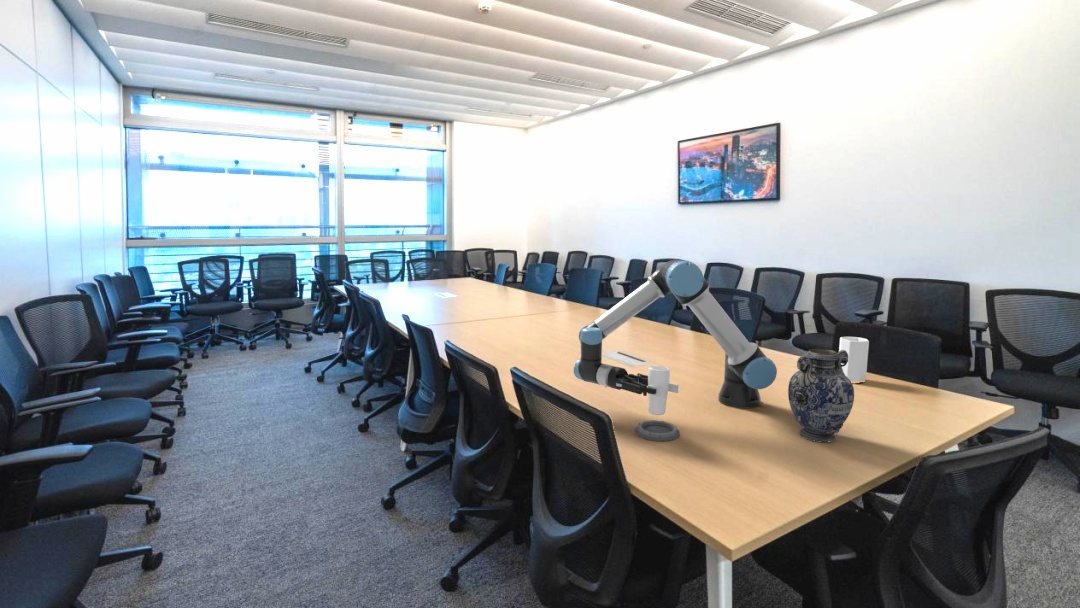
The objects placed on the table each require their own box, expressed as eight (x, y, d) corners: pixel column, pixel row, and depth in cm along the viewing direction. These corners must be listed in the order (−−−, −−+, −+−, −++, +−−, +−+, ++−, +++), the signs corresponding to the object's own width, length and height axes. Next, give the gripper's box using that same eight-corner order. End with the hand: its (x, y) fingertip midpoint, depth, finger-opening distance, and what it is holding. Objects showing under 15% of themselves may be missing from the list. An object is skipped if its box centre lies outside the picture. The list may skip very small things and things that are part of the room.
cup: (871, 384, 227) (875, 341, 225) (845, 384, 228) (848, 341, 225) (856, 376, 238) (859, 336, 236) (831, 376, 239) (834, 336, 236)
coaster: (680, 428, 178) (681, 422, 178) (677, 443, 165) (677, 437, 164) (638, 423, 182) (639, 417, 182) (632, 438, 169) (632, 432, 169)
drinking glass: (655, 417, 168) (657, 371, 166) (642, 411, 174) (644, 366, 172) (672, 414, 171) (674, 369, 169) (658, 408, 177) (660, 364, 175)
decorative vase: (819, 452, 158) (825, 360, 154) (769, 431, 175) (774, 348, 171) (867, 441, 166) (874, 353, 163) (816, 422, 183) (821, 342, 180)
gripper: (628, 381, 191) (686, 396, 175) (595, 393, 177) (655, 409, 162) (629, 361, 190) (687, 373, 174) (595, 371, 176) (656, 386, 160)
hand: (671, 391), depth 168 cm, fingers closed on drinking glass, 6 cm apart
